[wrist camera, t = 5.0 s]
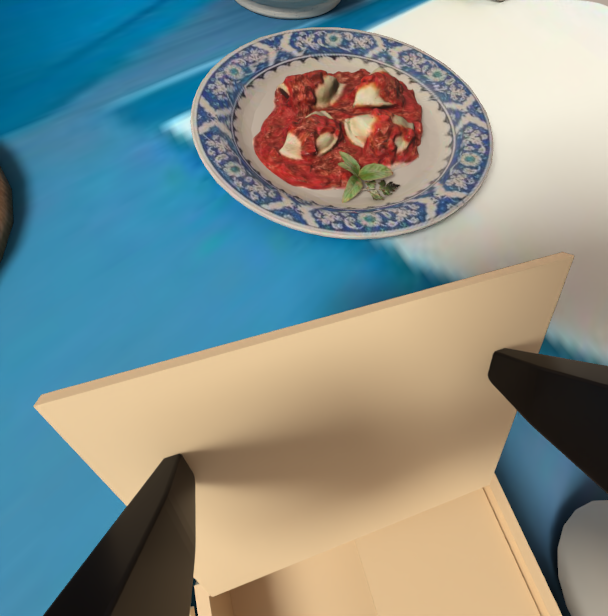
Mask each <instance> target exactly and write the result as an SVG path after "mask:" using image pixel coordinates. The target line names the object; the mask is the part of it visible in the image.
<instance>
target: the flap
mask: <svg viewBox="0 0 608 616" xmlns="http://www.w3.org/2000/svg"><path fill="white" fill-rule="evenodd" d="M573 259H574V255H570V254H567V253H564V252H561V253H557V254H553V255H550V256H546V257H543V258H539V259H535V260H532V261H528V262H524V263H521V264H517V265H513V266H510V267H506V268H502V269H499V270H495V271H491V272H488V273H484V274H480V275H477V276H473V277H469V278H466V279H462V280H459V281H455V282H451V283H448V284H444V285H440V286H437V287H433V288H429V289H426V290H422V291H418V292H415V293H411V294H407V295H404V296H400V297H396V298H393V299H389V300H385V301H382V302H378V303H375V304H371V305H367V306H364V307H360V308H356V309H353V310H349V311H345V312H342V313H338V314H334V315H331V316H327V317H323V318H320V319H316V320H312V321H309V322H305V323H301V324H298V325H294V326H291V327H287V328H283V329H280V330H276V331H272V332H269V333H265V334H261V335H258V336H254V337H250V338H247V339H243V340H239V341H236V342H232V343H228V344H225V345H221V346H217V347H214V348H210V349H207V350H203V351H199V352H196V353H192V354H188V355H185V356H181V357H177V358H174V359H170V360H166V361H163V362H159V363H155V364H152V365H148V366H144V367H141V368H137V369H133V370H130V371H126V372H123V373H119V374H115V375H112V376H108V377H104V378H101V379H97V380H93V381H90V382H86V383H82V384H79V385H75V386H71V387H68V388H64V389H60V390H57V391H53V392H49V393H46V394H42V395H41V396H40V397H39V399H38V400H37V402H36V403H35V405H34V406H33V407H34V408H35V409H36V410H37V411H38V412H39V413H40V414H41V415H42V416H43V417H44V418H45V419H46V420H47V421H48V423H49V424H50V425H51V426H52V427H53V428H54V429H55V430H56V431H57V432H58V433H59V434H60V435H61V436H62V437H63V439H64V440H65V441H66V442H67V443H68V444H69V445H70V446H71V447H72V448H73V449H74V450H75V451H76V452H77V453H78V455H79V456H80V457H81V458H82V459H83V460H84V461H85V462H86V463H87V464H88V465H89V466H90V467H91V468H92V469H93V471H94V472H95V473H96V474H97V475H98V476H99V477H100V478H101V479H102V480H103V481H104V482H105V483H106V484H107V485H108V487H109V488H110V489H111V490H112V491H113V492H114V493H115V494H116V495H117V496H118V497H119V498H120V499H121V500H122V501H123V503H124V504H125V505H126V506H128V504H129V503H130V502H131V500H132V499H133V498H134V496H135V495H136V494H137V493H138V491H139V490H140V489H141V487H142V486H143V485H144V483H145V482H146V481H147V480H148V478H149V477H150V476H151V474H152V473H153V472H154V470H155V469H156V468H157V467H158V465H159V464H160V463H161V461H162V460H163V459H164V458H166V457H169V456H173V455H176V454H182V456H183V457H184V459H185V460H186V462H187V464H188V465H189V467H190V469H191V470H192V472H193V474H194V477H195V503H196V550H195V564H194V574H193V577H194V578H195V579H196V580H197V582H198V583H199V584H200V585H201V586H202V587H203V588H204V589H205V590H206V591H207V592H208V593H209V594H210V595H211V596H212V597H214V596H216V595H219V594H221V593H224V592H226V591H229V590H231V589H233V588H236V587H238V586H241V585H243V584H246V583H248V582H251V581H253V580H256V579H258V578H261V577H263V576H266V575H268V574H270V573H273V572H275V571H278V570H280V569H283V568H285V567H288V566H290V565H293V564H295V563H298V562H300V561H303V560H305V559H307V558H310V557H312V556H315V555H317V554H320V553H322V552H325V551H327V550H330V549H332V548H335V547H337V546H340V545H342V544H345V543H347V542H349V541H352V540H354V539H357V538H359V537H362V536H364V535H367V534H369V533H372V532H374V531H377V530H379V529H382V528H384V527H386V526H389V525H391V524H394V523H396V522H399V521H401V520H404V519H406V518H409V517H411V516H414V515H416V514H419V513H421V512H423V511H426V510H428V509H431V508H433V507H436V506H438V505H441V504H443V503H446V502H448V501H451V500H453V499H456V498H458V497H461V496H463V495H465V494H468V493H470V492H473V491H475V490H478V489H480V488H483V487H485V486H488V485H490V482H491V480H492V477H493V474H494V471H495V469H496V466H497V463H498V461H499V458H500V455H501V453H502V450H503V447H504V445H505V442H506V439H507V436H508V434H509V431H510V428H511V426H512V423H513V420H514V418H515V415H516V412H517V410H516V409H515V408H514V407H513V405H512V404H511V403H510V402H509V401H508V400H507V399H506V398H505V397H504V396H503V395H502V394H501V393H500V392H499V391H498V390H497V389H496V387H495V386H494V385H493V384H492V383H491V382H490V380H489V378H488V371H489V367H490V363H491V360H492V356H493V353H494V352H495V351H497V350H500V349H503V348H508V349H514V350H520V351H525V352H531V353H537V354H538V353H539V350H540V348H541V345H542V342H543V339H544V337H545V334H546V331H547V329H548V326H549V323H550V321H551V318H552V315H553V313H554V310H555V307H556V304H557V302H558V299H559V296H560V294H561V291H562V288H563V286H564V283H565V280H566V278H567V275H568V272H569V269H570V267H571V264H572V261H573Z"/></svg>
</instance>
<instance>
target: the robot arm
mask: <svg viewBox="0 0 608 616" xmlns="http://www.w3.org/2000/svg"><path fill="white" fill-rule="evenodd" d="M488 378H489V380H490V382H491V383H492V384H493V385H494V386H495V387H496V389H497V390H498V391H499V392H500V393H501V394H502V395H503V396H504V397H505V398H506V399H507V400H508V401H509V402H510V403H511V404H512V405H513V407H514V408H515V409H516V410H517V411H518V412H519V413H520V414H521V415H522V416H523V417H524V418H525V419H526V420H527V421H528V422H529V423H530V424H531V425H532V426H533V427H534V428H535V429H536V430H537V431H538V432H539V433H541V434H542V435H543V436H544V437H545V438H546V439H547V440H548V441H549V442H551V443H552V444H553V445H554V446H555V447H556V448H557V449H558V450H559V451H561V452H562V453H563V454H564V455H565V456H566V457H567V458H568V459H569V460H571V461H572V462H573V463H574V464H575V465H576V466H577V467H578V468H580V469H581V470H582V471H583V472H584V473H585V474H586V475H587V476H588V477H590V478H591V479H592V480H593V481H594V482H595V483H596V484H597V485H598V486H600V487H601V488H602V489H603V490H604V491H605V492H606V493H607V494H608V366H604V365H598V364H593V363H587V362H581V361H576V360H570V359H565V358H559V357H553V356H548V355H542V354H537V353H531V352H525V351H520V350H514V349H508V348H503V349H500V350H497V351H495V352H494V353H493V356H492V360H491V363H490V367H489V371H488ZM195 550H196V503H195V477H194V474H193V472H192V470H191V469H190V467H189V465H188V464H187V462H186V460H185V459H184V457H183V456H182V454H176V455H173V456H169V457H166V458H164V459H163V460H162V461H161V463H160V464H159V465H158V467H157V468H156V469H155V470H154V472H153V473H152V474H151V476H150V477H149V478H148V480H147V481H146V482H145V483H144V485H143V486H142V487H141V489H140V490H139V491H138V493H137V494H136V495H135V496H134V498H133V499H132V500H131V502H130V503H129V504H128V506H127V507H126V508H125V509H124V511H123V512H122V513H121V515H120V516H119V517H118V519H117V520H116V521H115V523H114V524H113V525H112V526H111V528H110V529H109V530H108V532H107V533H106V534H105V536H104V537H103V538H102V539H101V541H100V542H99V543H98V545H97V546H96V547H95V549H94V550H93V551H92V552H91V554H90V555H89V556H88V558H87V559H86V560H85V562H84V563H83V564H82V565H81V567H80V568H79V569H78V571H77V572H76V573H75V575H74V576H73V577H72V579H71V580H70V581H69V582H68V584H67V585H66V586H65V588H64V589H63V590H62V592H61V593H60V594H59V595H58V597H57V598H56V599H55V601H54V602H53V603H52V605H51V606H50V607H49V608H48V610H47V611H46V612H45V614H44V615H43V616H190V606H191V595H192V585H193V574H194V564H195Z"/></svg>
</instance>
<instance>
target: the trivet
mask: <svg viewBox="0 0 608 616" xmlns="http://www.w3.org/2000/svg"><path fill="white" fill-rule="evenodd" d="M12 225H13V202H12V189H11V187H10V185H9V183H8V181H7V179H6V177H5V175H4V173H3V171H2V169H1V167H0V262H1V261H2V258H3V254H4V251H5V248H6V245H7V241H8V238H9V235H10V232H11V228H12Z"/></svg>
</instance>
